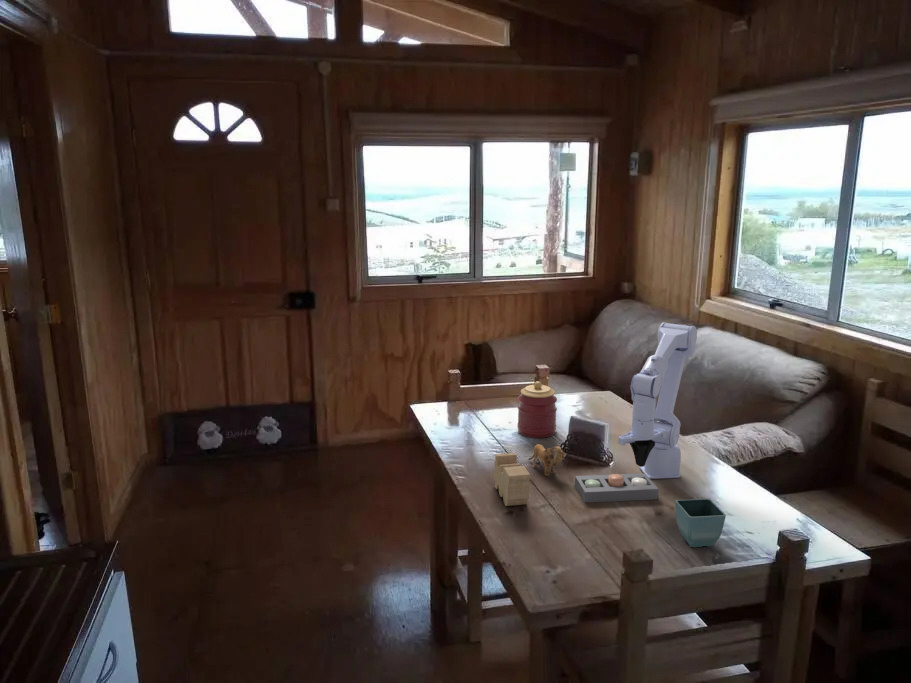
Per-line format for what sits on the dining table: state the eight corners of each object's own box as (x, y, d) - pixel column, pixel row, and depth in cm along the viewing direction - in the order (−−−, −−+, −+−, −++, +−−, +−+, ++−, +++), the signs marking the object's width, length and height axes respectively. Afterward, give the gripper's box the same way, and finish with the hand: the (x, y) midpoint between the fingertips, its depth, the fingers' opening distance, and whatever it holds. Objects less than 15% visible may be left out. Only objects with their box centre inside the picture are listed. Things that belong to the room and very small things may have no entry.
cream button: (642, 487, 190) (643, 477, 190) (648, 493, 187) (648, 483, 186) (628, 487, 190) (629, 477, 189) (633, 494, 186) (634, 484, 185)
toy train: (511, 482, 194) (512, 449, 192) (529, 510, 178) (530, 474, 176) (492, 483, 193) (493, 450, 191) (508, 512, 177) (509, 476, 175)
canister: (562, 429, 234) (564, 379, 230) (545, 441, 223) (547, 389, 219) (527, 422, 241) (529, 373, 237) (510, 433, 230) (511, 383, 226)
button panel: (644, 482, 193) (644, 473, 193) (657, 499, 184) (658, 488, 183) (574, 485, 192) (575, 476, 191) (584, 502, 182) (585, 492, 181)
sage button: (597, 489, 189) (597, 479, 189) (601, 495, 185) (602, 485, 185) (582, 489, 189) (583, 479, 188) (586, 496, 185) (587, 486, 184)
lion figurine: (567, 476, 198) (569, 447, 196) (554, 480, 195) (555, 451, 193) (534, 459, 210) (535, 431, 208) (521, 463, 207) (521, 435, 205)
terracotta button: (620, 483, 190) (621, 473, 189) (625, 490, 186) (625, 480, 185) (606, 484, 189) (606, 474, 188) (610, 491, 185) (611, 480, 185)
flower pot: (671, 533, 167) (674, 499, 164) (706, 531, 167) (709, 497, 165) (686, 552, 158) (689, 517, 156) (723, 551, 159) (726, 515, 157)
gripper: (654, 409, 190) (651, 455, 193) (611, 417, 184) (609, 464, 187) (672, 417, 183) (669, 464, 187) (628, 425, 178) (625, 474, 181)
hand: (640, 465), depth 187 cm, fingers closed
